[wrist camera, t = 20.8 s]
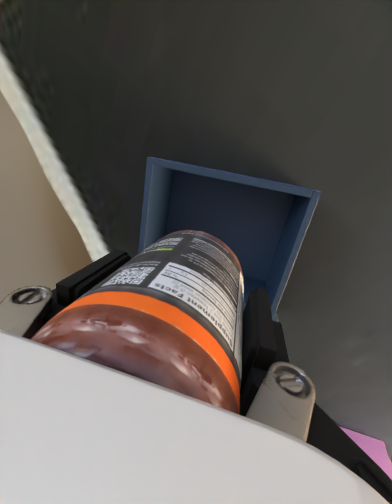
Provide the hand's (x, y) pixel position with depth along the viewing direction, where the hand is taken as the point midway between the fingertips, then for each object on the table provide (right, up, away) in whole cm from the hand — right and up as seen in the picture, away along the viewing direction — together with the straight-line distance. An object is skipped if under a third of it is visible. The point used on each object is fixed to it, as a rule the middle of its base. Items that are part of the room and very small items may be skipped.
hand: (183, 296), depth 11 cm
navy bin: (+4, +5, +15) cm, 16 cm away
